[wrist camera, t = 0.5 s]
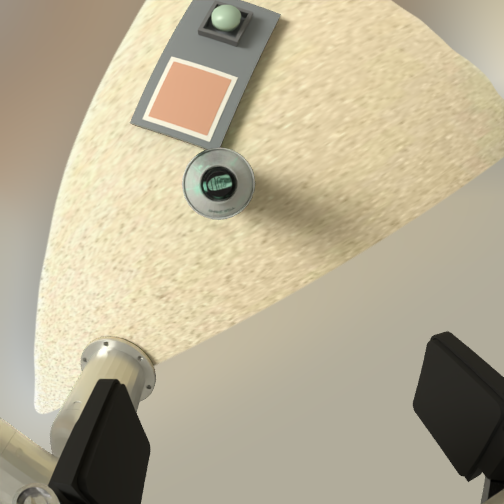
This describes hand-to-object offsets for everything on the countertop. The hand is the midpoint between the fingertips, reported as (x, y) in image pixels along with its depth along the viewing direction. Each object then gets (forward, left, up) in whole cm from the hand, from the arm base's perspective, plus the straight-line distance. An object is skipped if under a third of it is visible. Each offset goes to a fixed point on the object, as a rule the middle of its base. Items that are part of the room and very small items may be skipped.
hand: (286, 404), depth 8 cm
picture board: (+10, +20, -34) cm, 40 cm away
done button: (+15, +23, -31) cm, 41 cm away
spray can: (+2, +6, -34) cm, 34 cm away
